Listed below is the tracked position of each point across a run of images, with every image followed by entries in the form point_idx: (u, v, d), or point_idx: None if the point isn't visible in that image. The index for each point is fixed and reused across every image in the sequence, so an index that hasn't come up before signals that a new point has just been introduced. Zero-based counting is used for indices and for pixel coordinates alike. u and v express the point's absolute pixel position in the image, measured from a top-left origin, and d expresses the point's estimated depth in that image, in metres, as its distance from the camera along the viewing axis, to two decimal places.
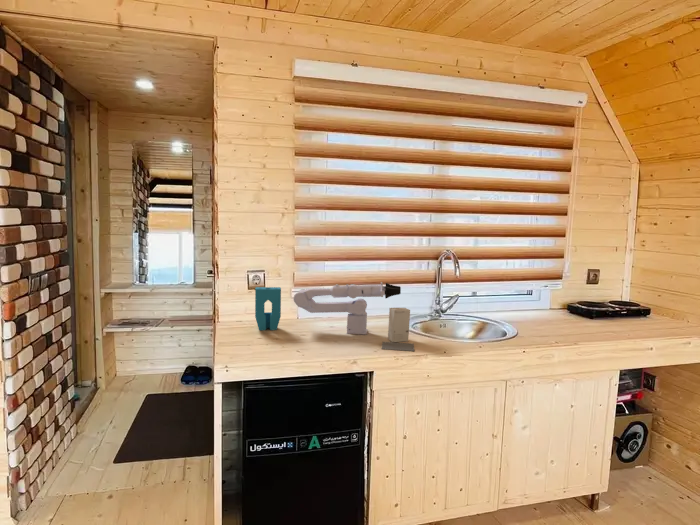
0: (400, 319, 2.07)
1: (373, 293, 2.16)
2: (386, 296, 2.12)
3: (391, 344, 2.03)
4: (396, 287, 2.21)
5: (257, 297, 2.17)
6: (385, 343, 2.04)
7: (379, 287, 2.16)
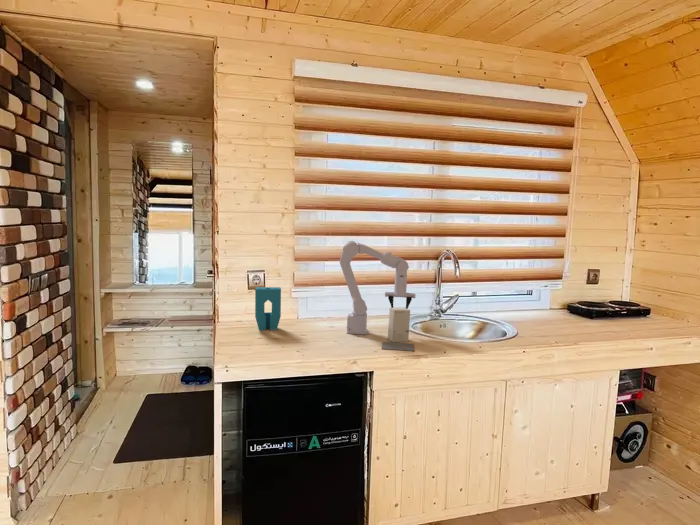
0: (400, 319, 2.07)
1: (406, 286, 2.19)
2: None
3: (391, 344, 2.03)
4: None
5: (257, 297, 2.17)
6: (385, 343, 2.04)
7: None
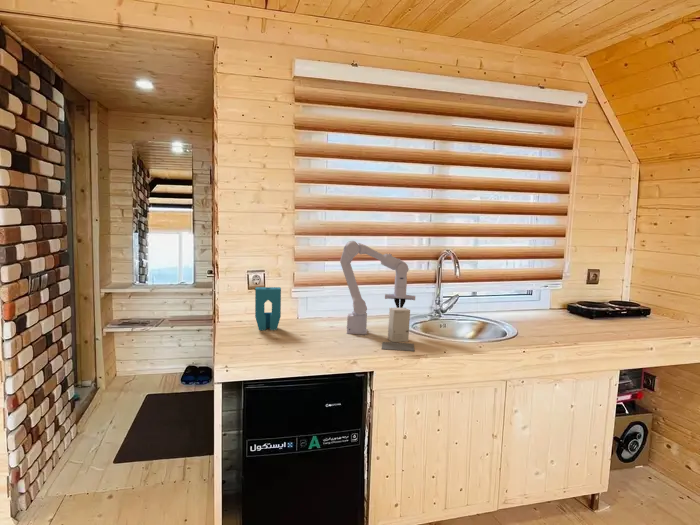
0: (400, 319, 2.07)
1: None
2: None
3: (391, 344, 2.03)
4: None
5: (257, 297, 2.17)
6: (385, 343, 2.04)
7: None
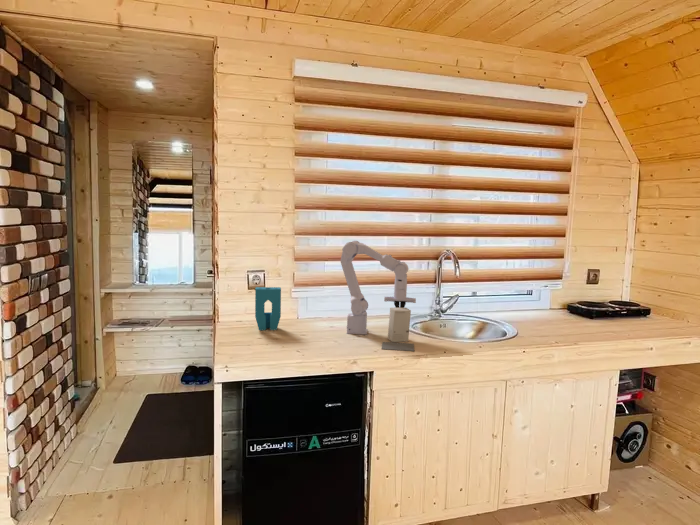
0: (400, 319, 2.06)
1: (406, 291, 2.13)
2: (405, 304, 2.13)
3: (391, 344, 2.03)
4: None
5: (257, 297, 2.17)
6: (385, 343, 2.04)
7: None
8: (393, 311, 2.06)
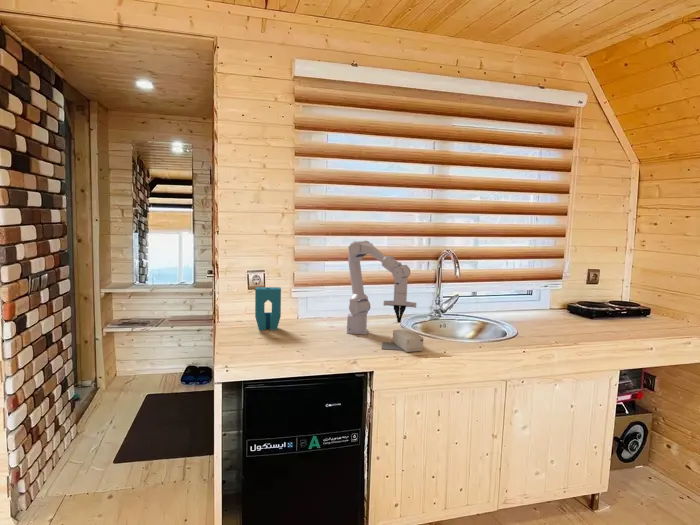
0: None
1: (406, 295, 2.03)
2: None
3: (391, 344, 2.03)
4: None
5: (257, 297, 2.17)
6: (385, 343, 2.04)
7: None
8: (405, 348, 1.94)
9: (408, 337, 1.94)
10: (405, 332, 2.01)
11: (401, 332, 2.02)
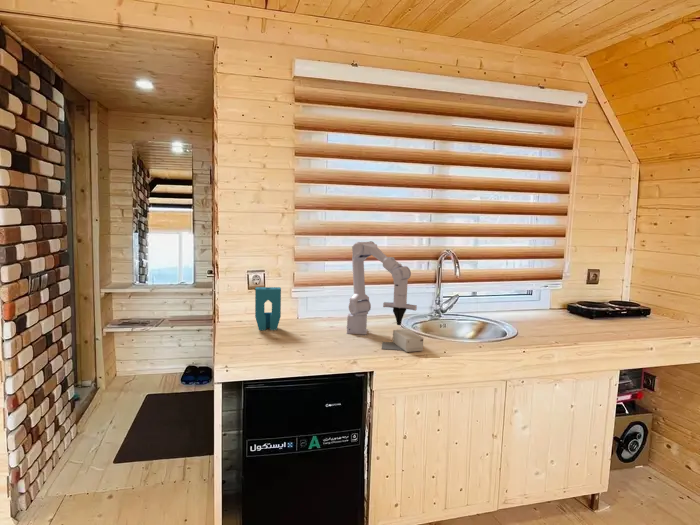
0: None
1: (406, 297, 1.99)
2: (404, 311, 1.99)
3: (391, 344, 2.03)
4: None
5: (257, 297, 2.17)
6: (385, 343, 2.04)
7: None
8: (405, 348, 1.94)
9: (408, 337, 1.94)
10: (405, 332, 2.01)
11: (401, 332, 2.02)
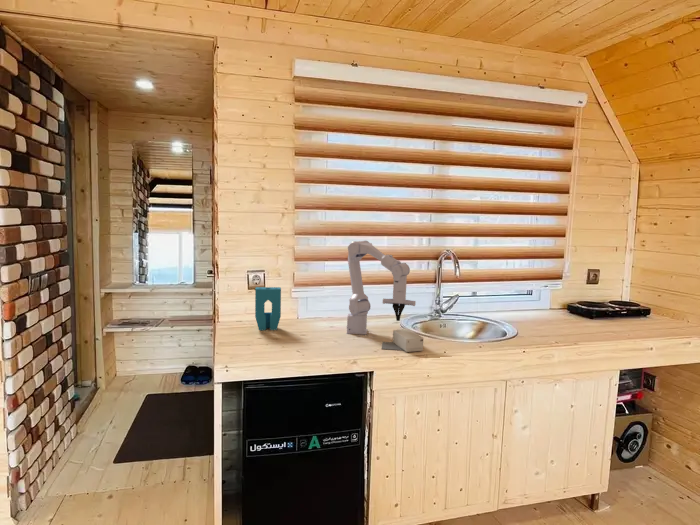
0: None
1: (405, 293, 2.03)
2: None
3: (391, 344, 2.03)
4: None
5: (257, 297, 2.17)
6: (385, 343, 2.04)
7: None
8: (405, 348, 1.94)
9: (408, 337, 1.94)
10: (405, 332, 2.01)
11: (401, 332, 2.02)
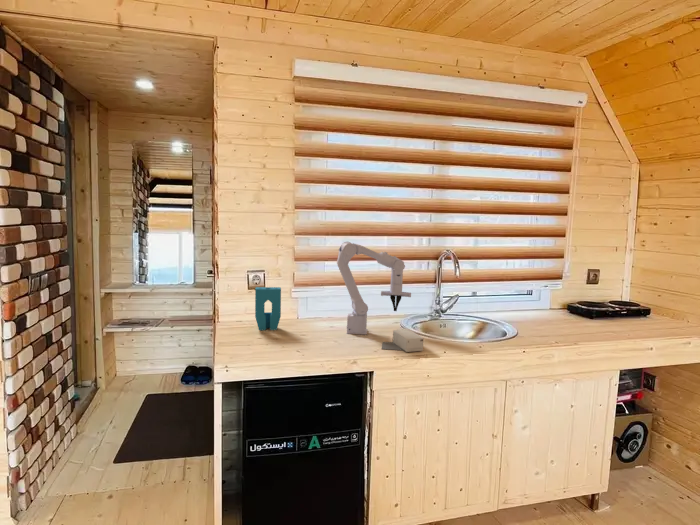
0: None
1: None
2: None
3: (391, 344, 2.03)
4: None
5: (257, 297, 2.17)
6: (385, 343, 2.04)
7: None
8: (405, 348, 1.94)
9: (408, 337, 1.94)
10: (405, 332, 2.01)
11: (401, 332, 2.02)
